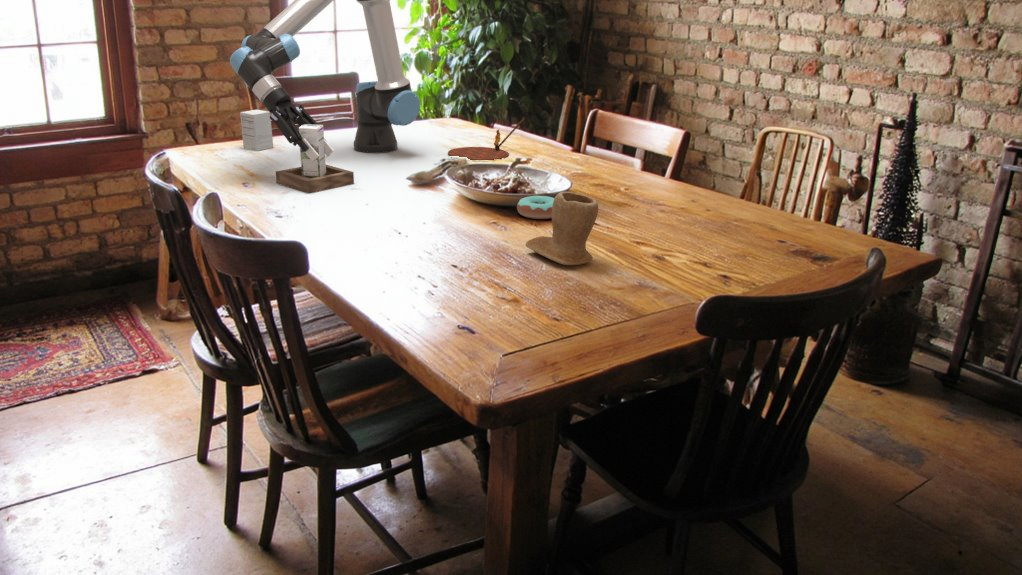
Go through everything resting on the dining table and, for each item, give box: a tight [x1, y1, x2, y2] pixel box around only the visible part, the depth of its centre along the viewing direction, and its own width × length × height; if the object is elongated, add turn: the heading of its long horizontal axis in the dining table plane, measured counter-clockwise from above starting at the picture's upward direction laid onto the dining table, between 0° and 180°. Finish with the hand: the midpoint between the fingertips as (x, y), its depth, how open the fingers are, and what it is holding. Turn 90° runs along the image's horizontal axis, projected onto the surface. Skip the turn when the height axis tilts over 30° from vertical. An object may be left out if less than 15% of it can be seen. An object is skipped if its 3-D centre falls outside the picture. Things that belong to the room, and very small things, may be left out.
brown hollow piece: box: [525, 191, 599, 266], centre depth 187 cm, size 15×12×15 cm
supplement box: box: [239, 109, 274, 152], centre depth 290 cm, size 7×7×13 cm
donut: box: [516, 195, 555, 220], centre depth 222 cm, size 12×12×4 cm
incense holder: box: [447, 117, 526, 161], centre depth 290 cm, size 21×30×11 cm
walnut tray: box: [274, 164, 355, 194], centre depth 248 cm, size 16×16×4 cm
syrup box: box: [298, 124, 327, 177], centre depth 245 cm, size 6×6×14 cm
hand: (323, 156), depth 244 cm, fingers closed on syrup box, 7 cm apart
